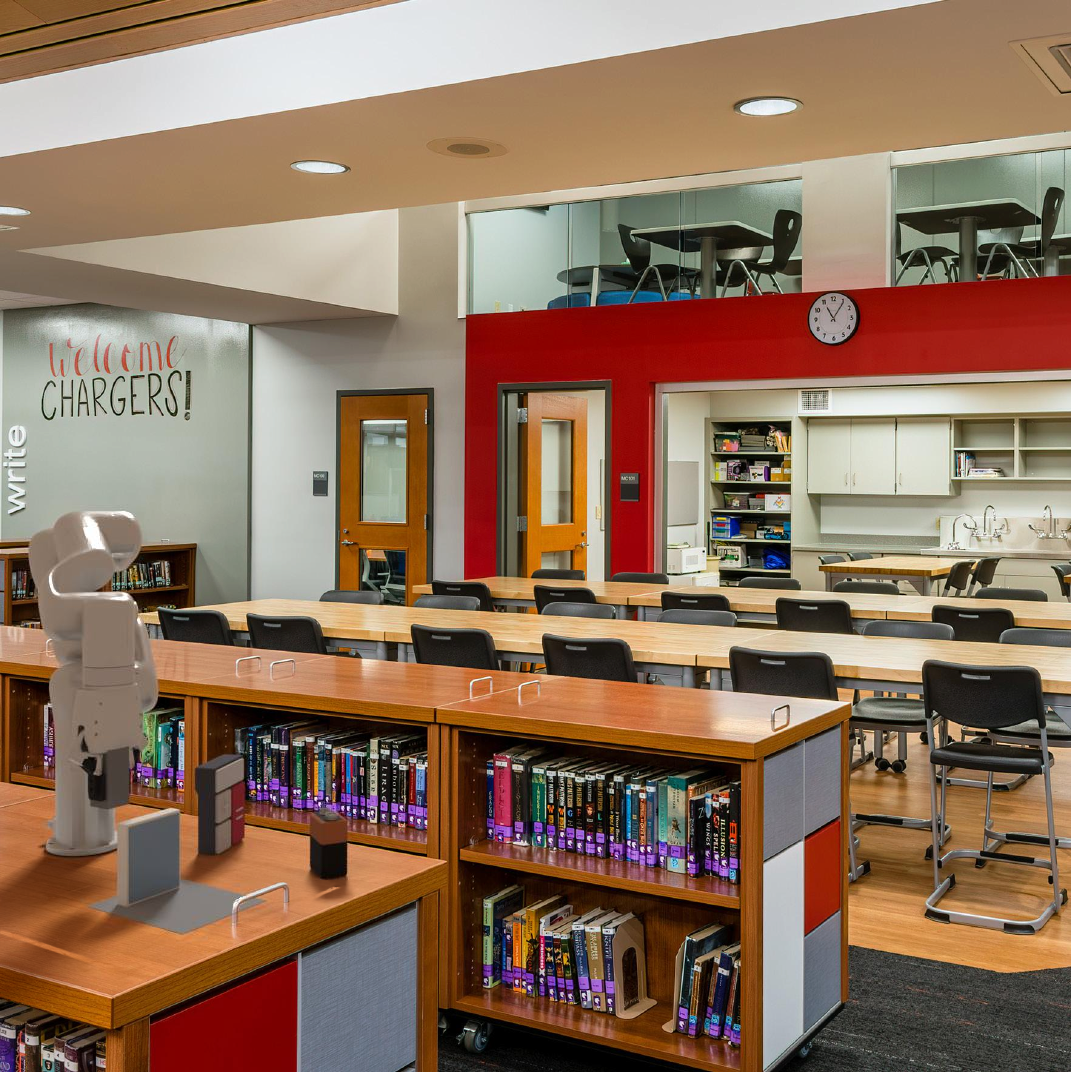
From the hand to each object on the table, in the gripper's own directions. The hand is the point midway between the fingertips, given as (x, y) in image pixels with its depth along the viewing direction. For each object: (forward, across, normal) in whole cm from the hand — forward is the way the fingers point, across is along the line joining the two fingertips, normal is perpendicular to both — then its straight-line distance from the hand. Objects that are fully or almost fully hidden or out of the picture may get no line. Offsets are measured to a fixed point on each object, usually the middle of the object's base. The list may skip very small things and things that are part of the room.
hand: (109, 795), depth 180 cm
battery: (+15, -24, +22) cm, 36 cm away
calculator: (+14, -24, -2) cm, 28 cm away
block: (+1, 0, 0) cm, 1 cm away
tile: (+14, 0, +8) cm, 16 cm away
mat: (+15, 0, +14) cm, 20 cm away
